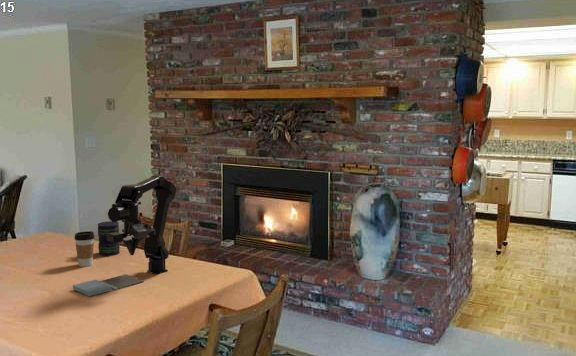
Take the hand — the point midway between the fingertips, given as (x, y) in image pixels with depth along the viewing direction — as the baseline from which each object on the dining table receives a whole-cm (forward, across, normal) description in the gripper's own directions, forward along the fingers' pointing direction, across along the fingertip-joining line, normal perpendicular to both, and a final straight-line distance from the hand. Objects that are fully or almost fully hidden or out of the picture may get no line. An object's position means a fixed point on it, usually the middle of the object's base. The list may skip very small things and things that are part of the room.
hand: (132, 255), depth 204 cm
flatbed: (+12, -2, +5) cm, 13 cm away
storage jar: (+12, +17, +47) cm, 51 cm away
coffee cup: (+12, 0, +38) cm, 40 cm away
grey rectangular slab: (+11, -10, +5) cm, 16 cm away
